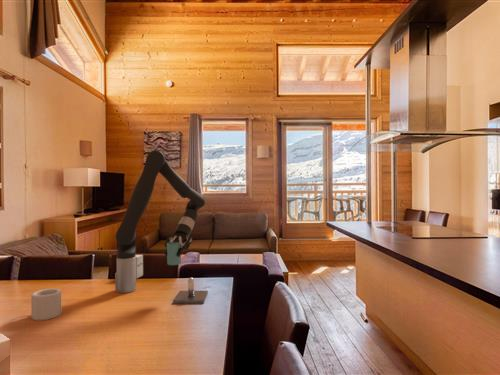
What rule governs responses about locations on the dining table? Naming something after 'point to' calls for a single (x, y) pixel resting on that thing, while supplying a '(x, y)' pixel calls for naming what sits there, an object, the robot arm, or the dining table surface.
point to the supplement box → (139, 266)
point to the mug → (46, 304)
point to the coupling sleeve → (173, 253)
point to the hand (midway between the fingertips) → (171, 255)
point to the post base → (191, 299)
